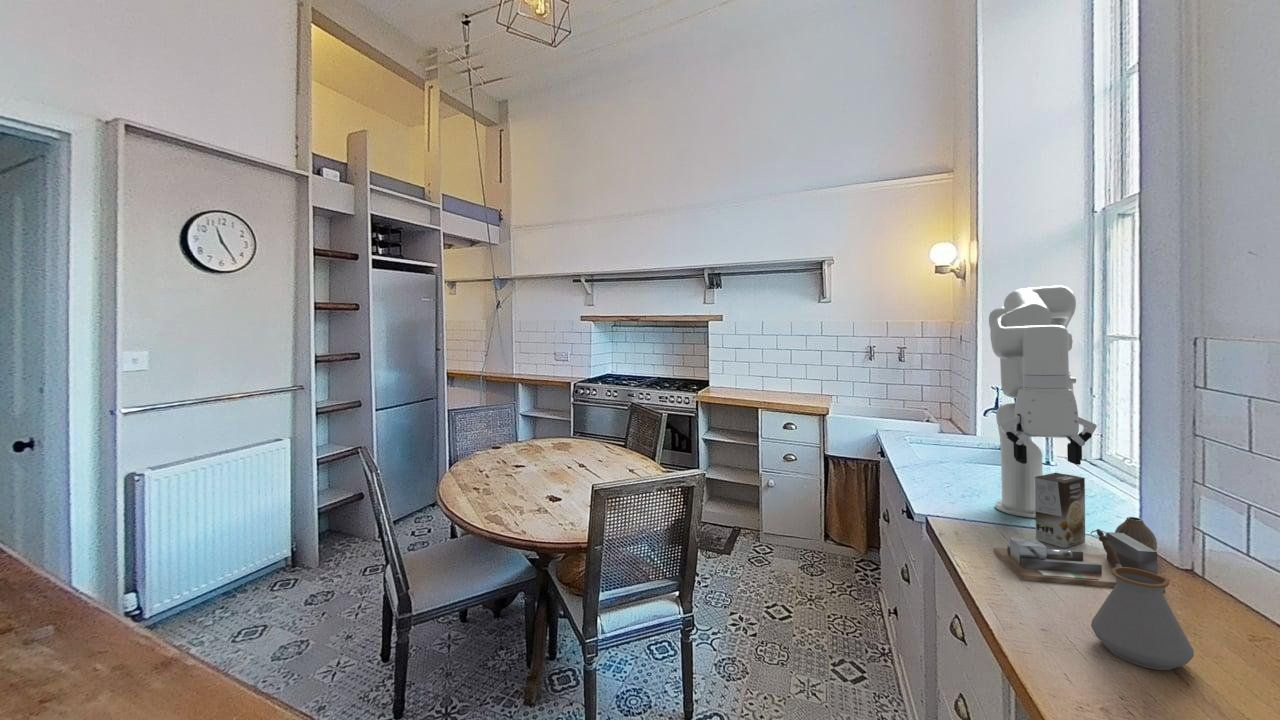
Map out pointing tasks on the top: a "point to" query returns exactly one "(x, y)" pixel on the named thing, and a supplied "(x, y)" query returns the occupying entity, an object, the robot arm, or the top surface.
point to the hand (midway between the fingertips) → (1047, 462)
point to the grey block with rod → (1033, 550)
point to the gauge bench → (1085, 563)
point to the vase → (1138, 532)
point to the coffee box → (1060, 509)
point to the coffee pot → (1140, 619)
